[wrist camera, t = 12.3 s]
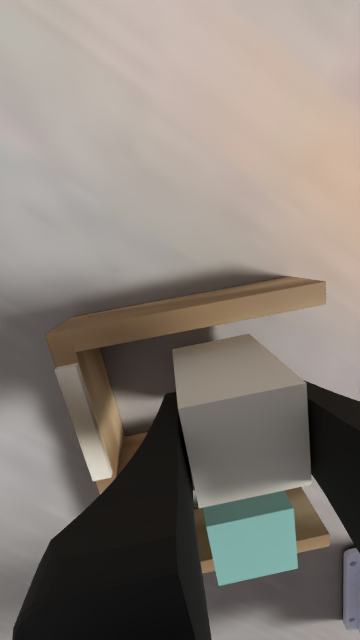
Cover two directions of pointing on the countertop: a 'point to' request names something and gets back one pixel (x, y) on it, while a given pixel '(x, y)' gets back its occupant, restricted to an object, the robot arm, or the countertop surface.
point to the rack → (151, 321)
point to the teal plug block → (252, 537)
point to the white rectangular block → (241, 420)
